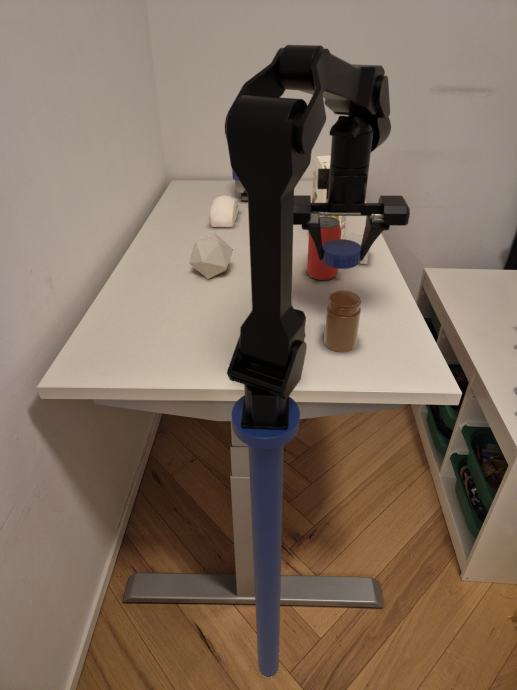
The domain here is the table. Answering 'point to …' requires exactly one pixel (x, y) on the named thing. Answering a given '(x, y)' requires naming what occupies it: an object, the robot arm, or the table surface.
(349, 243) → the lid
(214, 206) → the computer mouse
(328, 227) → the beer can
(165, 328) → the table surface
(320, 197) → the juice carton
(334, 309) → the jar
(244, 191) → the toy
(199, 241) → the die
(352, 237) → the small box
